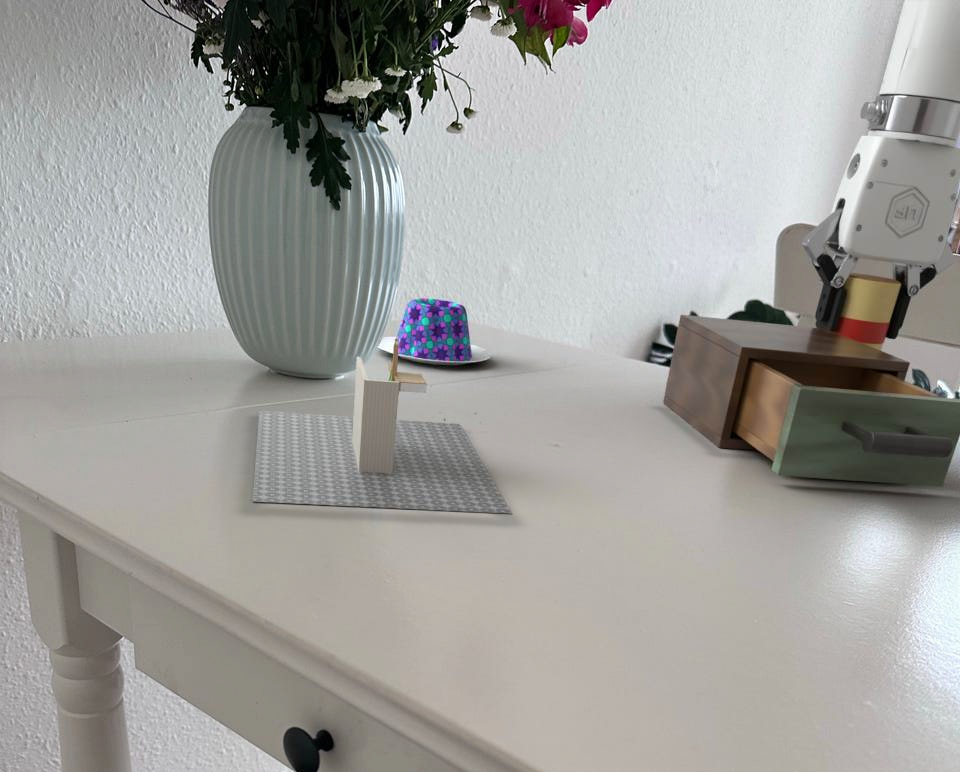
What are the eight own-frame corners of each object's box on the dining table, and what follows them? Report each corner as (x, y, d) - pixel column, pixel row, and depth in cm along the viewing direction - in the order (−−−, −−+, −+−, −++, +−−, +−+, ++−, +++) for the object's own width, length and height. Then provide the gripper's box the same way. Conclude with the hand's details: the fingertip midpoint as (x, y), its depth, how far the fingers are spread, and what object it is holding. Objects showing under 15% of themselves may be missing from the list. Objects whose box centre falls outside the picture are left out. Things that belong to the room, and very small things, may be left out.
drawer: (980, 508, 68) (1012, 420, 65) (806, 497, 66) (832, 405, 63) (854, 435, 84) (876, 363, 81) (711, 425, 82) (728, 349, 79)
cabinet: (880, 459, 81) (910, 362, 78) (718, 447, 79) (741, 346, 75) (804, 414, 94) (827, 328, 90) (662, 402, 91) (680, 314, 88)
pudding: (436, 341, 106) (441, 291, 104) (514, 365, 99) (521, 312, 97) (350, 346, 98) (352, 292, 96) (428, 373, 91) (433, 316, 89)
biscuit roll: (855, 370, 99) (882, 276, 95) (883, 383, 94) (914, 284, 90) (804, 364, 98) (829, 269, 93) (830, 378, 93) (858, 277, 88)
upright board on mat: (407, 444, 69) (416, 330, 66) (419, 474, 63) (430, 351, 60) (352, 441, 69) (358, 325, 65) (358, 471, 63) (366, 345, 59)
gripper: (847, 110, 81) (790, 332, 89) (1027, 138, 84) (955, 349, 92) (808, 111, 87) (757, 317, 96) (976, 137, 91) (913, 334, 99)
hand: (855, 331), depth 94 cm, fingers closed on biscuit roll, 5 cm apart
